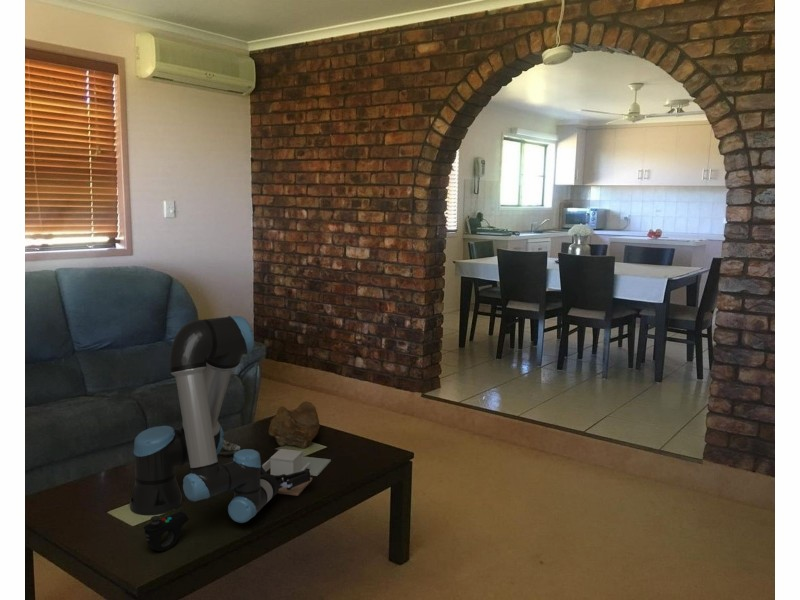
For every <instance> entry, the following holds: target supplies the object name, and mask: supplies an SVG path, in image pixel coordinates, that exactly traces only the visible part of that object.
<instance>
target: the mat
mask: <svg viewBox="0 0 800 600" xmlns="http://www.w3.org/2000/svg"><path fill="white" fill-rule="evenodd" d="M331 461H332V460H331V459H330V458H329V459H328V458H321V457H320V458H319V457H313V456H311V457H310V456H303V467H304V466H305V465H306V464H307V463H311V471H310V476H312V477H313V476H315V477H318V475H320V473H322V471H323V470H325V468H326V467H327V466H328V465H329V464H330V463H331Z"/></svg>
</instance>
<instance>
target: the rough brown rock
mask: <svg viewBox="0 0 800 600" xmlns="http://www.w3.org/2000/svg"><path fill="white" fill-rule="evenodd" d="M276 411H277V412H276V414H275V415H274V416H273V418H272V419H271V420H270V423H269V427H268V434H269V436H271V437H274V439H275V441H276V444H277V445H278V446H282V447H283V446H285V445H288V446H296V447H298V448H301V449H306V448H307V447H309V446H310V445H311V443H312V442H313V440H314V439H315V438H316V437H317V435H318V434H319V431H320V430H319V429H320V426H321V425H320V419H319V415H318V413H317V407H316V406H315V405H314V404H313V403H312V402H309V401H302V402H301V403H300V404H299V405H298V406H297V407H296V408H295V409H288V408H286V407H285V406H279V408H277V410H276Z"/></svg>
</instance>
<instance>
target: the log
mask: <svg viewBox="0 0 800 600" xmlns="http://www.w3.org/2000/svg"><path fill="white" fill-rule="evenodd" d="M239 450H243V448H242V447H241V446H240V445H238V444H235V443H232V442H231V443H230V442H229V441H227V440H225V439H224V443H223V447H222V449H221V451H220V452H219V453H218V454H217V458H218V457H219V458H222V459H223V458H227V459H228V458H233V457H234V454H235V453H236V452H237V451H239Z"/></svg>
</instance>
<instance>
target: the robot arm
mask: <svg viewBox="0 0 800 600" xmlns="http://www.w3.org/2000/svg"><path fill="white" fill-rule="evenodd" d="M254 347H255V335H254V331H253V328H252V327H251V325H250V323H249V321H248V320H247V319H246V318H245V317H243V316H241V315H235V316H234V315H233V316H232V315H228V316H222V317H213V318H205V319H195V320H191V321H190V322H188V323H186V324H185V325H183V326H182V327H181V328H180V329H179V331H178V332H177V333H176V335H175V337H174V338H173V341H172V343H171V348H170V352H169V359H168V361H169V370H170V374H171V375H172V376H173V377H174V378H175V382H176V389H177V394H178V402H179V408H180V411H181V412H180V414H181V419H182V423H181V426H180V427H178V428H174V427H173V426H170V425H160V426H159V425H158V426H152V427H149V428H147V429H145V430H142V431H141V432H139V433H138V434H137V435H136V437H135V438H134V442H133V443H134V445H133V451H132V452H133V459H134V461H133V462H134V477H135V479H134V481H135V482H134V486H133V490H132V493H131V497H130V499H129V508H130V510H131V512H133V513H134V514H138V515H143V516H150V515H151V516H152V515H153V516H156V515H160V514H165V513H168V512H171V511H174V510H175V509H177V508H179V506H181V504H182V503H183V494H182V491H181V489H180V486H179V484H178V480H177V477H176V468H178V467H182V466H186V465H189V471H190V473H188V474H186V475H185V476H184V477H183V480H182V482H183V484H182V489H183V492H184V495H185V497H186V498H187V500H189V501H191V502H193V503H194V502H198V501H201V500H207V499H209V498H212V497H215V496H217V495H220V494H223V493H226V492H229V491H232V490H233V498H232V499H231V500H230V502H229V504H228V506H227V512H228V515H229V517H230V518H231V520H233V521H234V522H235V523H238V524H239V523H240V524H244V523H247V522H249V521H250V520H251V519H253V518H254V517H255V516H256V515H257V514H258V513H259V512H260V511H261V509H263V508H264V506H266V504H268V503H269V501H271V500H272V499H273V497H275V496H276V495H277V494H278V493H277V492H278V490H279V489H280V488H282V487H283V486H284V487H287V490H290V489H292V488H293V487H295V486H298V485H300V484H303V483H305V482H308V481H310V477H311V475H310V471H311V463H307V464H306V465H305V466H304V467H303V468H302V469H301V472H297V473H293V474H289V475H285V474H282V475H271V474H270V473H268V472H267V471H269V470H271V465H270V458H269V459H268V460H266V462H263V463H261V462H262V461H261V455H260V453H259V451H258V450H255V449H250V448H246V449H245V448H244V449H243V448H242V449H243V450H239V451H237V452H236V453H235V454H234V457H232V461H230V462H229V461H228V462H227V463H223V464H219V462H218V461H219V460H218V456H217V454H218V453H219V452H220V451H221V449H222V447H223V443H224V440H225V438H224V430H223V428H222V425H221V424H220V422H219V421H218V420H219V416H220V413H221V408H222V406H223V402H224V399H225V396H226V393H227V390H228V385H229V383H230V379H231V376H232V373H233V369H235V368H237V367H238V366H240V363H241V360H242V356H243V355H248V354H250V353H251V352H252V351H253V349H254ZM282 478H283V479H282Z"/></svg>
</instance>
